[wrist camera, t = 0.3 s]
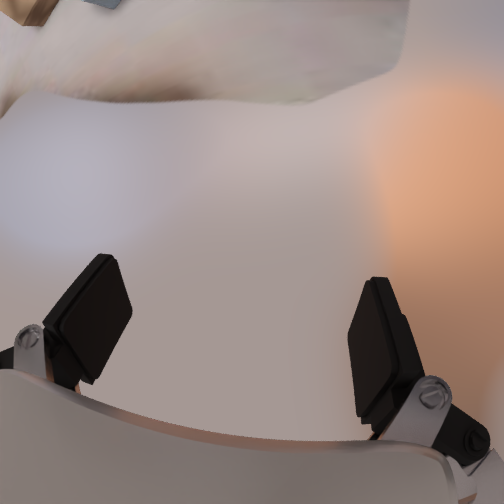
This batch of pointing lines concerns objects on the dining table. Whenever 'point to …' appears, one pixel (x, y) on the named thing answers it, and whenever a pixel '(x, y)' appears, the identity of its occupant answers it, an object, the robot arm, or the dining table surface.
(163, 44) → the dining table surface
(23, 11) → the riser block
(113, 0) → the blue block
